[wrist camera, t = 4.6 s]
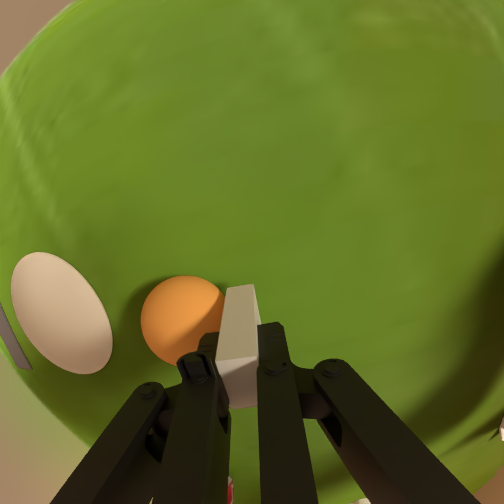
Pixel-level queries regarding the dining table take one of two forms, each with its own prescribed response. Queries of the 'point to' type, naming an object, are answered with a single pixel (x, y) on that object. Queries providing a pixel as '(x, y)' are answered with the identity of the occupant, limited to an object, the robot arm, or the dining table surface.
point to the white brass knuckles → (362, 501)
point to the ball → (180, 315)
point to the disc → (61, 313)
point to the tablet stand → (502, 430)
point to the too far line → (12, 343)
